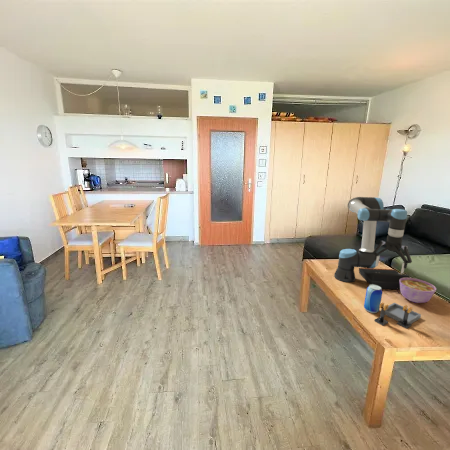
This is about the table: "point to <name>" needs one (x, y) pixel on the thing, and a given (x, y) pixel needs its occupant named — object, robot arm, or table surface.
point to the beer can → (373, 298)
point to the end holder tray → (401, 313)
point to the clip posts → (403, 324)
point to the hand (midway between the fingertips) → (388, 269)
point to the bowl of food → (416, 290)
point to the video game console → (383, 277)
